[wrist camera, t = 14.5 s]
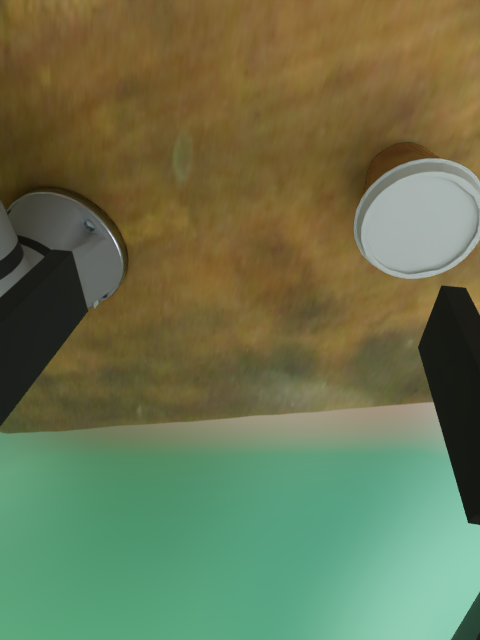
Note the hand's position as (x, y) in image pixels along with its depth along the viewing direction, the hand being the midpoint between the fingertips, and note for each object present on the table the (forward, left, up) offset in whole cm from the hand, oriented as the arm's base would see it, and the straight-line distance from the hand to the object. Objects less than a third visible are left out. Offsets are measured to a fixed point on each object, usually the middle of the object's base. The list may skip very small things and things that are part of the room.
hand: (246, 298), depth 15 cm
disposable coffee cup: (+10, -4, -30) cm, 32 cm away
